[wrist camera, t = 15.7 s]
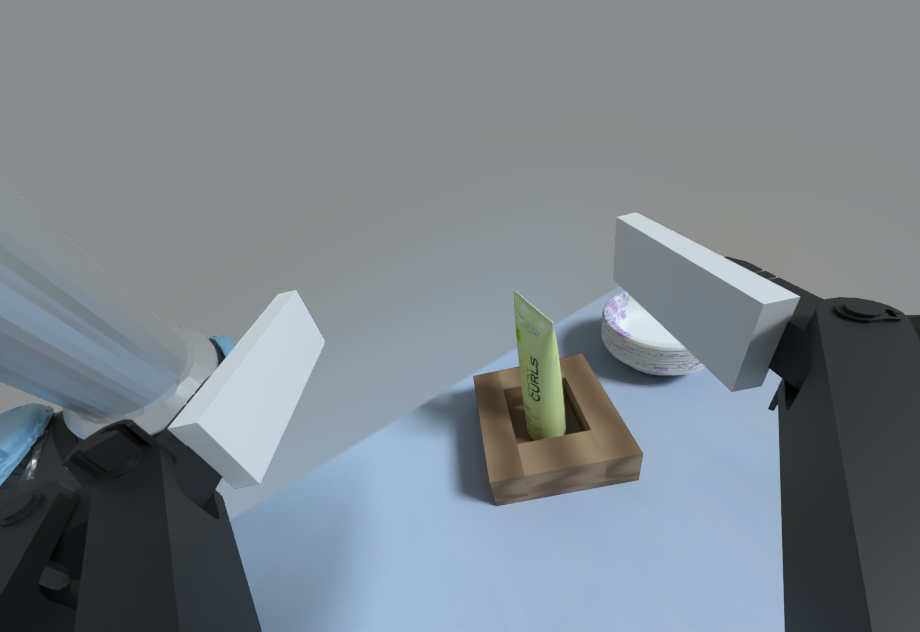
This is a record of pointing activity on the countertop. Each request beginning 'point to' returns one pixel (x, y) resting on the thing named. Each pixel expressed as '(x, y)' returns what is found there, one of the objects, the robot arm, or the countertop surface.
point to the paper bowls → (643, 340)
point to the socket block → (553, 438)
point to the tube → (539, 371)
